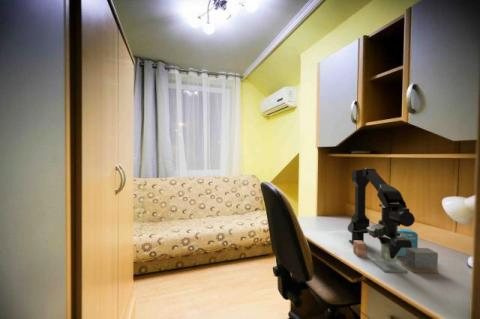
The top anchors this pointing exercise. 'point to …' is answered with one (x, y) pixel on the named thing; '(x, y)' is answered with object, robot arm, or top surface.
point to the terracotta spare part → (359, 248)
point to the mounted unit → (421, 260)
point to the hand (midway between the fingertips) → (388, 256)
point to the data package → (410, 236)
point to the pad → (389, 266)
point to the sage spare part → (387, 253)
